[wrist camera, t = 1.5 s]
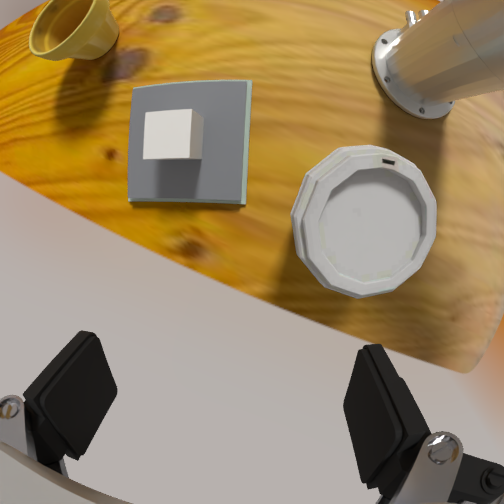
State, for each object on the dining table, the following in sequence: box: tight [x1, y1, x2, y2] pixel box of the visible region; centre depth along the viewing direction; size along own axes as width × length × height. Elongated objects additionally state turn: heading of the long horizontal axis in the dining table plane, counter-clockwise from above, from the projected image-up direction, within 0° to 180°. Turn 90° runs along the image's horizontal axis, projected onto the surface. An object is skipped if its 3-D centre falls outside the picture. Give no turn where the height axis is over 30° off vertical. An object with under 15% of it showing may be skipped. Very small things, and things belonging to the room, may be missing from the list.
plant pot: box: [29, 0, 119, 61], centre depth 19 cm, size 10×10×10 cm
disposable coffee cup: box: [291, 145, 436, 299], centre depth 22 cm, size 11×11×15 cm
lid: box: [128, 81, 247, 201], centre depth 25 cm, size 13×13×6 cm
